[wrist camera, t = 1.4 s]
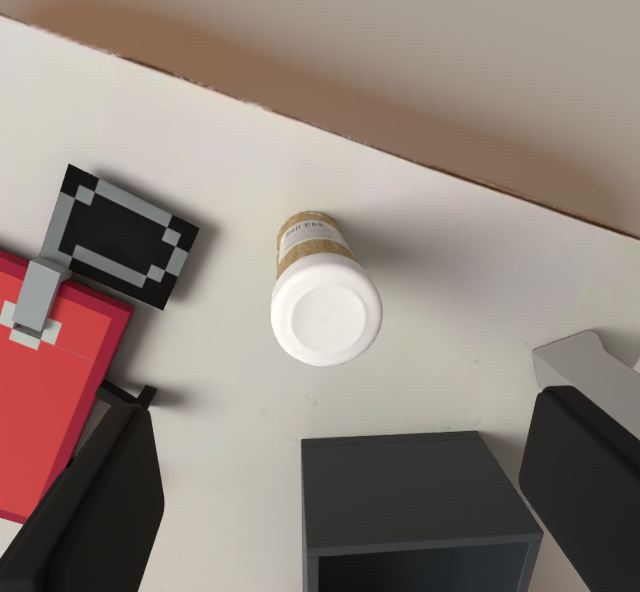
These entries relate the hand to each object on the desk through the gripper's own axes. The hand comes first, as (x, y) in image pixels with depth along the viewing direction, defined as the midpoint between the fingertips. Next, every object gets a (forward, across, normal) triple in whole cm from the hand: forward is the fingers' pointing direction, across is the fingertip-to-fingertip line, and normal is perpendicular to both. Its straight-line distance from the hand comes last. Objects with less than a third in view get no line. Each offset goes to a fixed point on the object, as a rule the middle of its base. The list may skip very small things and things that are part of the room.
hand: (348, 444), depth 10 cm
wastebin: (+20, -7, +28) cm, 35 cm away
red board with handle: (+20, +19, +9) cm, 29 cm away
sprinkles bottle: (+20, 0, 0) cm, 20 cm away
